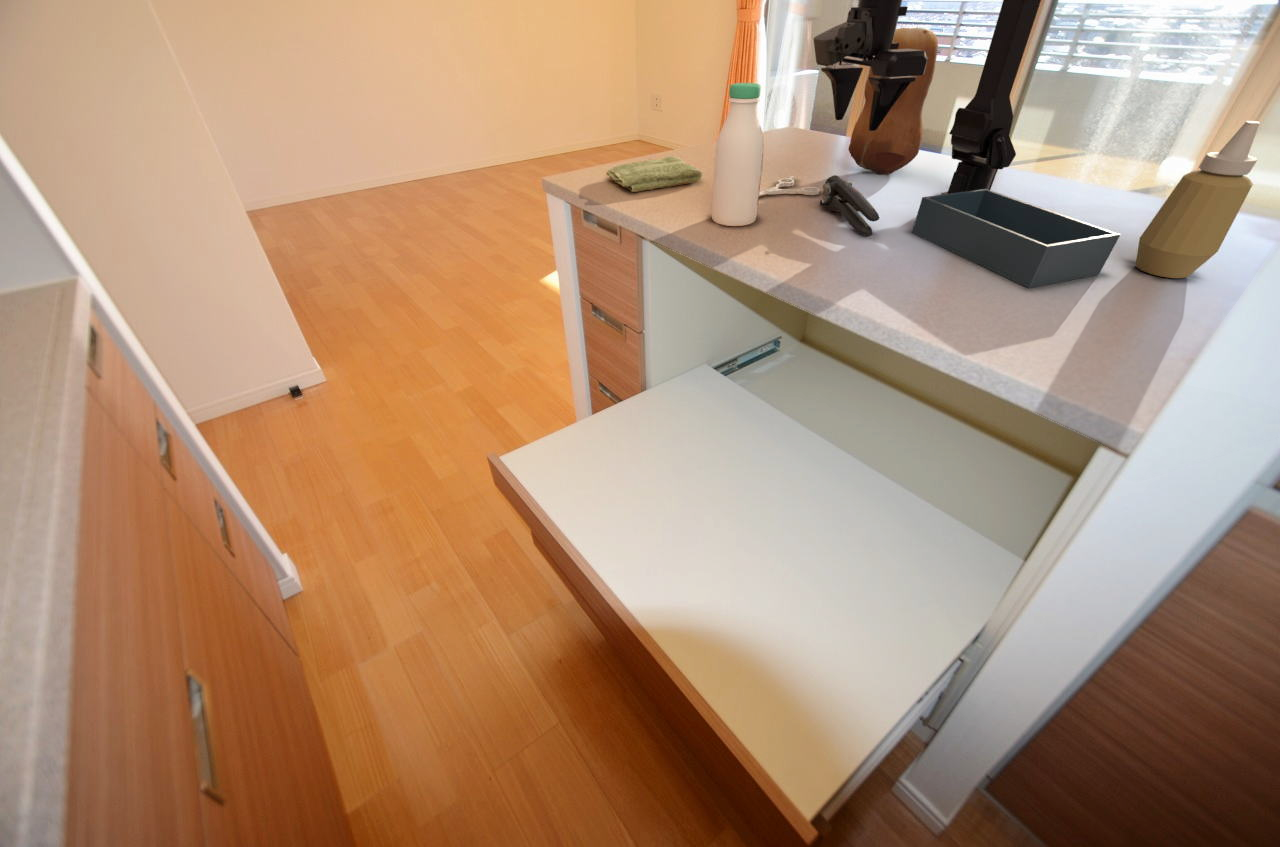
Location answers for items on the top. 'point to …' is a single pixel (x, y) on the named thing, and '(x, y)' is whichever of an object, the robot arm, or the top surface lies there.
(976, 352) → the top surface
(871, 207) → the can opener
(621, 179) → the washcloth
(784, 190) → the scissors
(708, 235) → the top surface
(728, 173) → the milk bottle
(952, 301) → the top surface
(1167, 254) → the squeeze bottle
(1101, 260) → the bin
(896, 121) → the butternut squash
